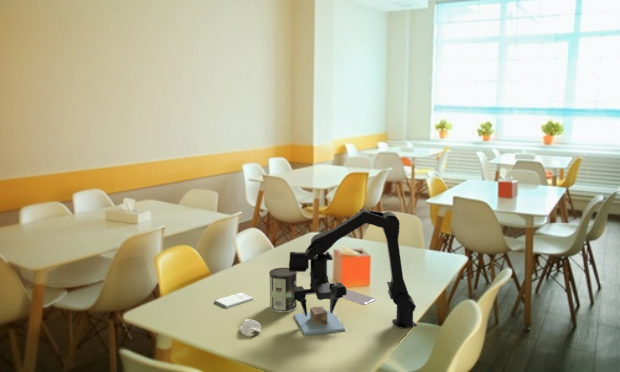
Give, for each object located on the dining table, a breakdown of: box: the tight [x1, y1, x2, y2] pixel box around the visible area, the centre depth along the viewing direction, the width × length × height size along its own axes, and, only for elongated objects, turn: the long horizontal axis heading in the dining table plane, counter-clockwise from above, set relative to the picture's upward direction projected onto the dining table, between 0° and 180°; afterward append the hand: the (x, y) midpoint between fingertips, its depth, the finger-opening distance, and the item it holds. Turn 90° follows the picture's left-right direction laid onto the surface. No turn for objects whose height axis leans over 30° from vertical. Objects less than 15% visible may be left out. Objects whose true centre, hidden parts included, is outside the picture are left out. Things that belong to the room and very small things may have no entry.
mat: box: [293, 309, 346, 336], centre depth 182 cm, size 16×14×1 cm
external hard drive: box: [213, 292, 254, 309], centre depth 202 cm, size 2×8×12 cm
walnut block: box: [309, 306, 327, 325], centre depth 182 cm, size 4×6×4 cm
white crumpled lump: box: [239, 318, 262, 337], centre depth 175 cm, size 8×7×5 cm
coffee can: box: [268, 267, 298, 314], centre depth 195 cm, size 10×10×14 cm
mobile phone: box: [342, 289, 376, 306], centre depth 206 cm, size 8×1×15 cm
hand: (318, 314), depth 181 cm, fingers open, 9 cm apart
